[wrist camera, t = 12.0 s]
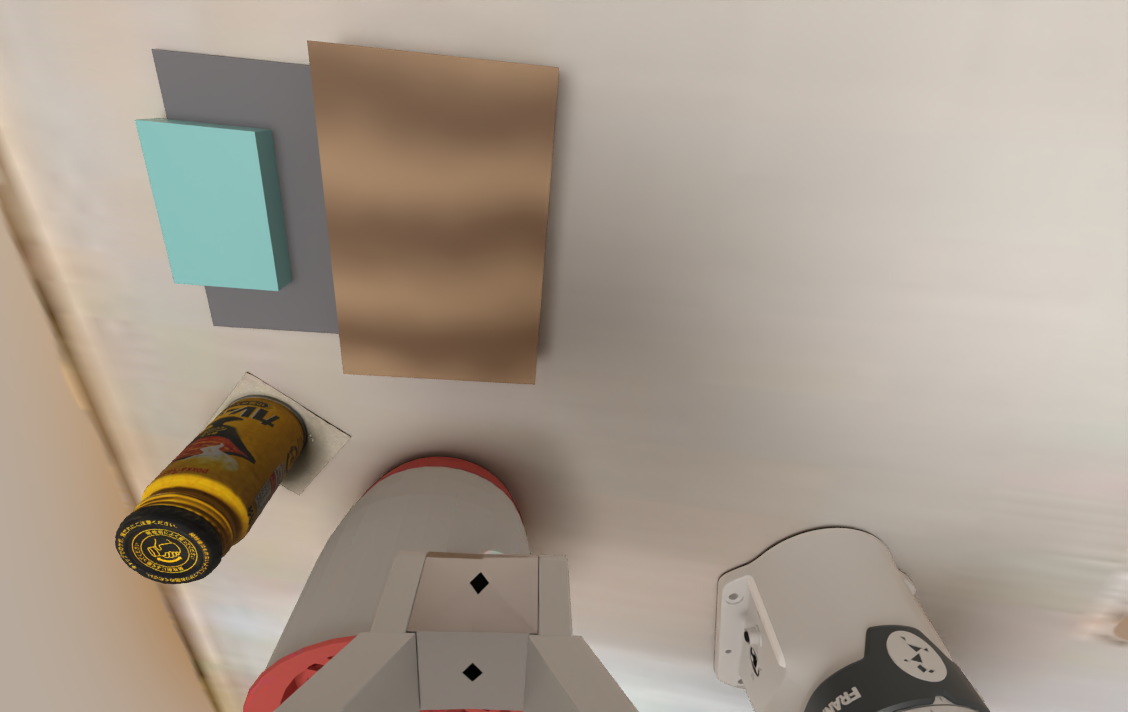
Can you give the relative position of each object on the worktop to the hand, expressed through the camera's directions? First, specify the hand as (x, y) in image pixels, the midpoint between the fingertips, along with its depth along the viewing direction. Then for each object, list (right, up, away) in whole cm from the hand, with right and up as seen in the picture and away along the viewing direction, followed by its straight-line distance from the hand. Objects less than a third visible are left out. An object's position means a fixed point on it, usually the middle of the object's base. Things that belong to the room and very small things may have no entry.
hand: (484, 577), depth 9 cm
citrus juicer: (-8, -8, +34) cm, 35 cm away
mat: (-17, +13, +22) cm, 31 cm away
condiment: (-20, -2, +30) cm, 36 cm away
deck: (-6, +12, +23) cm, 27 cm away
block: (-19, +12, +20) cm, 30 cm away
